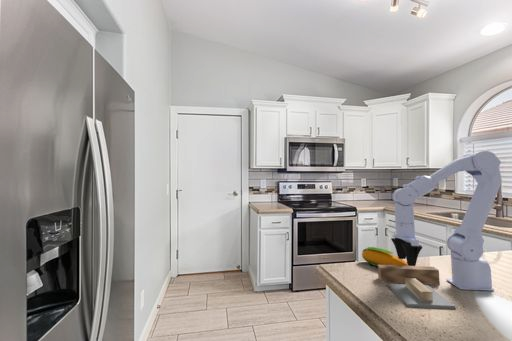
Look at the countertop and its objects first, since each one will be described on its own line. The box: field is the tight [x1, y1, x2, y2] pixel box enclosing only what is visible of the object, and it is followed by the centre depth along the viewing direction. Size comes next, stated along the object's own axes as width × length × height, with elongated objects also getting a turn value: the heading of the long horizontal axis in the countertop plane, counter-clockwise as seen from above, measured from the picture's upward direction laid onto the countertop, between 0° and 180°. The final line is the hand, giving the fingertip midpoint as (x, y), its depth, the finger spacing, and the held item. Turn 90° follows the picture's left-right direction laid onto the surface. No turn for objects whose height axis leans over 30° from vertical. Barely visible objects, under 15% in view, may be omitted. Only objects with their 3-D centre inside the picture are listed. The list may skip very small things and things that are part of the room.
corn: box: [361, 246, 408, 267], centre depth 101 cm, size 7×8×20 cm
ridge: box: [405, 278, 433, 302], centre depth 75 cm, size 3×10×4 cm, turn 171°
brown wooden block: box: [377, 265, 441, 286], centre depth 87 cm, size 18×4×5 cm, turn 79°
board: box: [388, 283, 457, 310], centre depth 75 cm, size 12×14×1 cm
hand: (406, 262), depth 87 cm, fingers open, 7 cm apart
